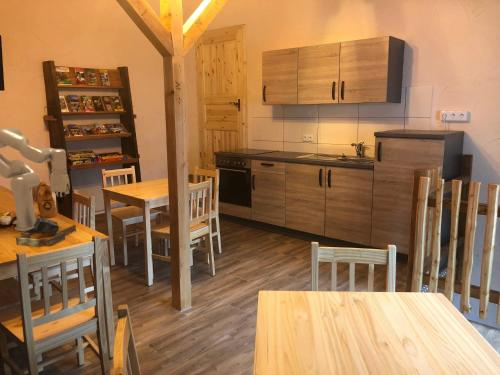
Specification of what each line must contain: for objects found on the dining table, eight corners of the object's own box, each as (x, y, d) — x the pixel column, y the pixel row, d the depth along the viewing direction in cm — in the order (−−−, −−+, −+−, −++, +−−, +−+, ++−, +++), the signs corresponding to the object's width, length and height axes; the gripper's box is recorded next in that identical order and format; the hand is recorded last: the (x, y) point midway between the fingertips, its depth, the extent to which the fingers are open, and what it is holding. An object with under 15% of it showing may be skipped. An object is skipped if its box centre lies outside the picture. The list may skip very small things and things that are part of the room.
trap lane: (9, 243, 220) (8, 237, 219) (48, 228, 245) (47, 222, 245) (46, 247, 213) (45, 241, 213) (82, 231, 239) (81, 225, 238)
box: (59, 226, 232) (40, 221, 225) (55, 236, 232) (35, 230, 225) (57, 221, 238) (37, 216, 231) (52, 230, 238) (33, 225, 231)
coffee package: (40, 219, 264) (36, 184, 259) (38, 214, 274) (34, 181, 270) (57, 216, 269) (53, 183, 264) (55, 212, 279) (51, 179, 275)
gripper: (43, 171, 234) (45, 203, 238) (65, 173, 230) (67, 206, 234) (53, 169, 241) (55, 200, 245) (75, 171, 237) (76, 203, 241)
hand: (61, 203), depth 239 cm, fingers closed
